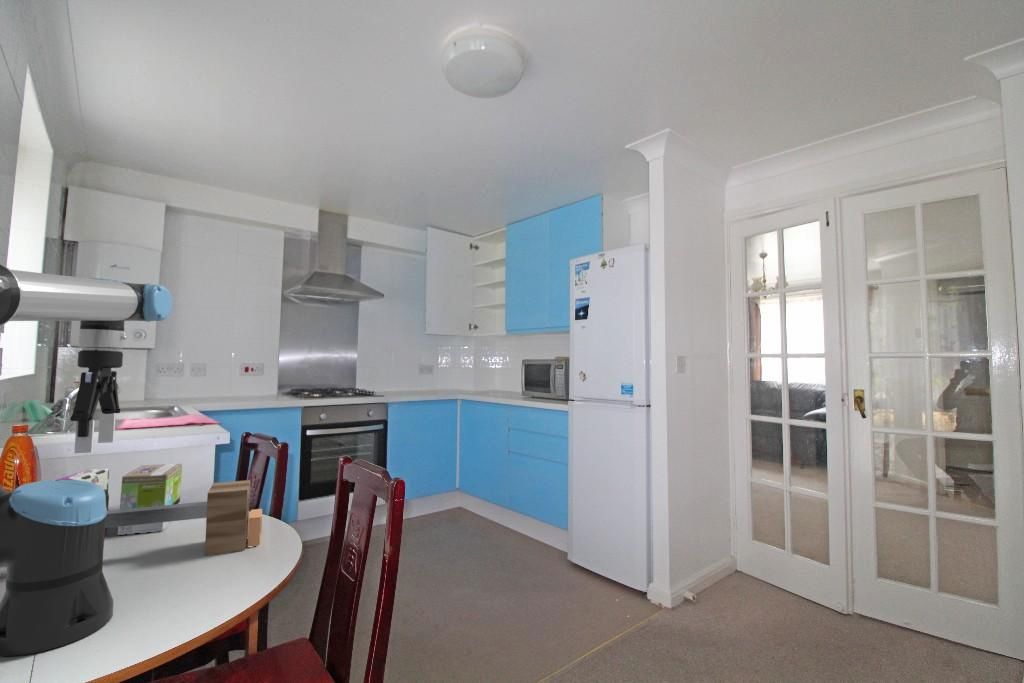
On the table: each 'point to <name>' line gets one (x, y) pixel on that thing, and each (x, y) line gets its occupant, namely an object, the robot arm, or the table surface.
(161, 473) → the tea box
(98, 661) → the table surface
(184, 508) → the shaft
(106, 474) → the candy bar box
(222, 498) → the bearing block
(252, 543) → the spacer
